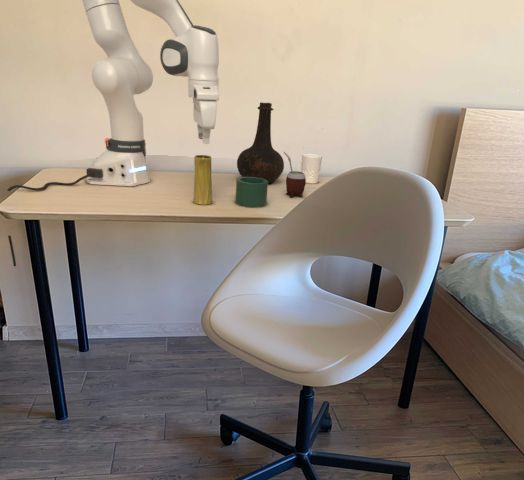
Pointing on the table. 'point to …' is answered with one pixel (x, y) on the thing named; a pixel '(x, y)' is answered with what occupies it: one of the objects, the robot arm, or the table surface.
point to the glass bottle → (261, 151)
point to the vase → (202, 180)
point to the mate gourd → (295, 182)
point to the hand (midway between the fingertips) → (203, 141)
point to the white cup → (311, 167)
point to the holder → (251, 191)
